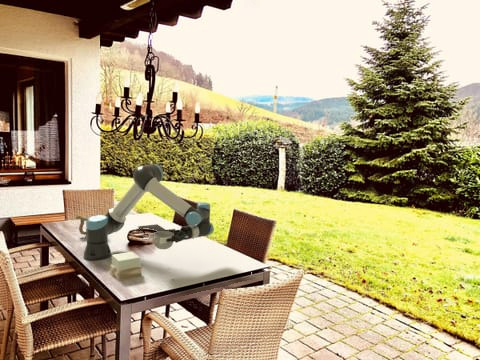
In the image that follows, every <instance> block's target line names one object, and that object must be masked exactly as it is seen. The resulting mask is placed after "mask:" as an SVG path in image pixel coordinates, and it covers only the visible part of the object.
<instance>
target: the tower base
mask: <svg viewBox="0 0 480 360" xmlns="http://www.w3.org/2000/svg"><path fill="white" fill-rule="evenodd" d="M142 270H143V269H142V266H141V265H140V267H136V268H130V269H125V270H117V269H116V268H115V267H114V266H113V265H112V263H111V264H109V274H110V275H111V274H112V275H111V276H113V277H114V278H115V279H117V281H123V280H127V279H132V278H135V277H136V278H137V277H139V276H142V274H143V273H142V272H143V271H142Z"/></svg>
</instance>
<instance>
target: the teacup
mask: <svg viewBox="0 0 480 360" xmlns="http://www.w3.org/2000/svg"><path fill="white" fill-rule="evenodd" d="M172 236H174V233H172V232H169V231H157V232H154V237H153V238H151V239H152V240H151V243H152V244H153V245H154V246H155V247H156V249H158V250H169V249H170V248H171V247H172V246H173V245H174V242H168V243H163V244H160V238H165V237H172Z"/></svg>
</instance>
